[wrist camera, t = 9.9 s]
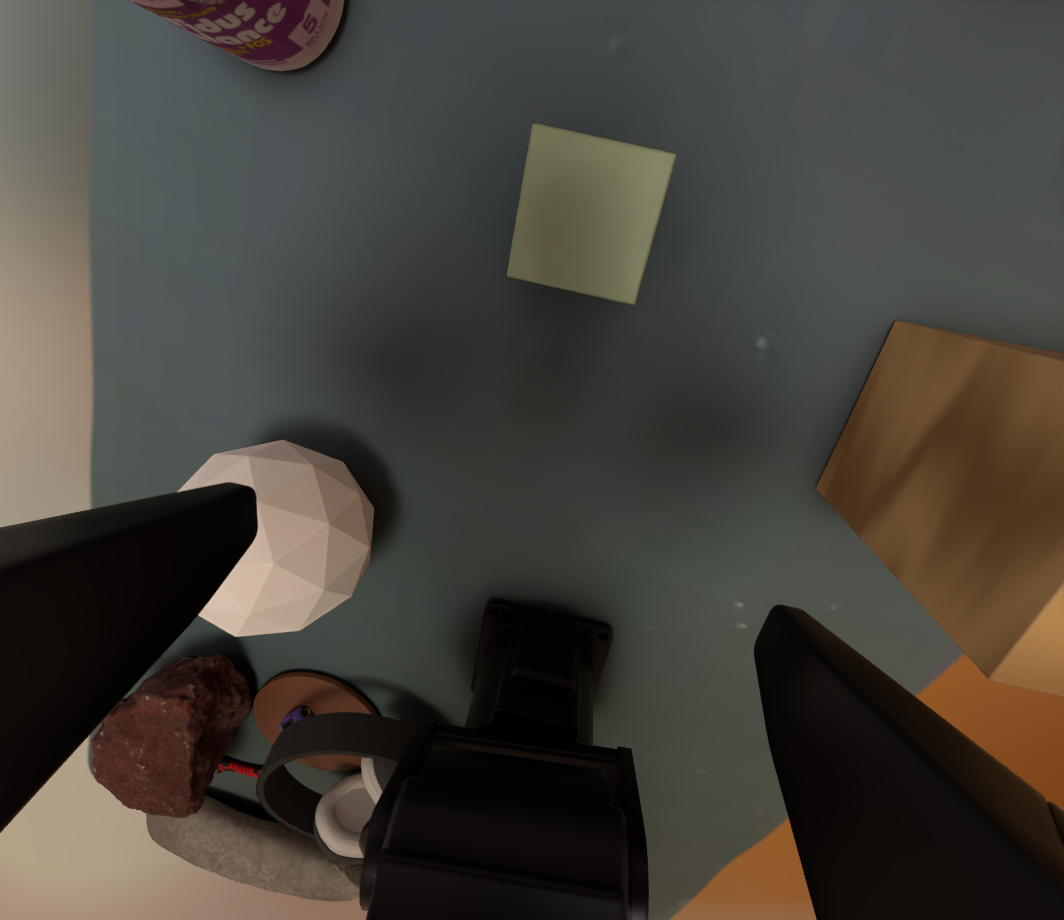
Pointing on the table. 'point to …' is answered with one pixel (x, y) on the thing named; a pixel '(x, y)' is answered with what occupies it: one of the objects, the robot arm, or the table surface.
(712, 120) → the table surface
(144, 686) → the rock
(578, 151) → the green cube
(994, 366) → the oak block
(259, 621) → the geometric ball
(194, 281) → the table surface
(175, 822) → the stone tool
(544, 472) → the table surface
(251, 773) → the katana
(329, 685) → the brown disc
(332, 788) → the headphones
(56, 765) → the robot arm
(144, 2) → the pill bottle
